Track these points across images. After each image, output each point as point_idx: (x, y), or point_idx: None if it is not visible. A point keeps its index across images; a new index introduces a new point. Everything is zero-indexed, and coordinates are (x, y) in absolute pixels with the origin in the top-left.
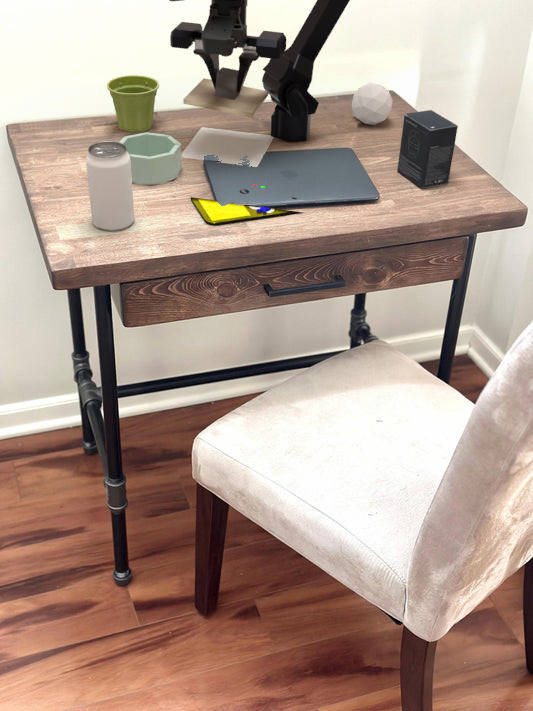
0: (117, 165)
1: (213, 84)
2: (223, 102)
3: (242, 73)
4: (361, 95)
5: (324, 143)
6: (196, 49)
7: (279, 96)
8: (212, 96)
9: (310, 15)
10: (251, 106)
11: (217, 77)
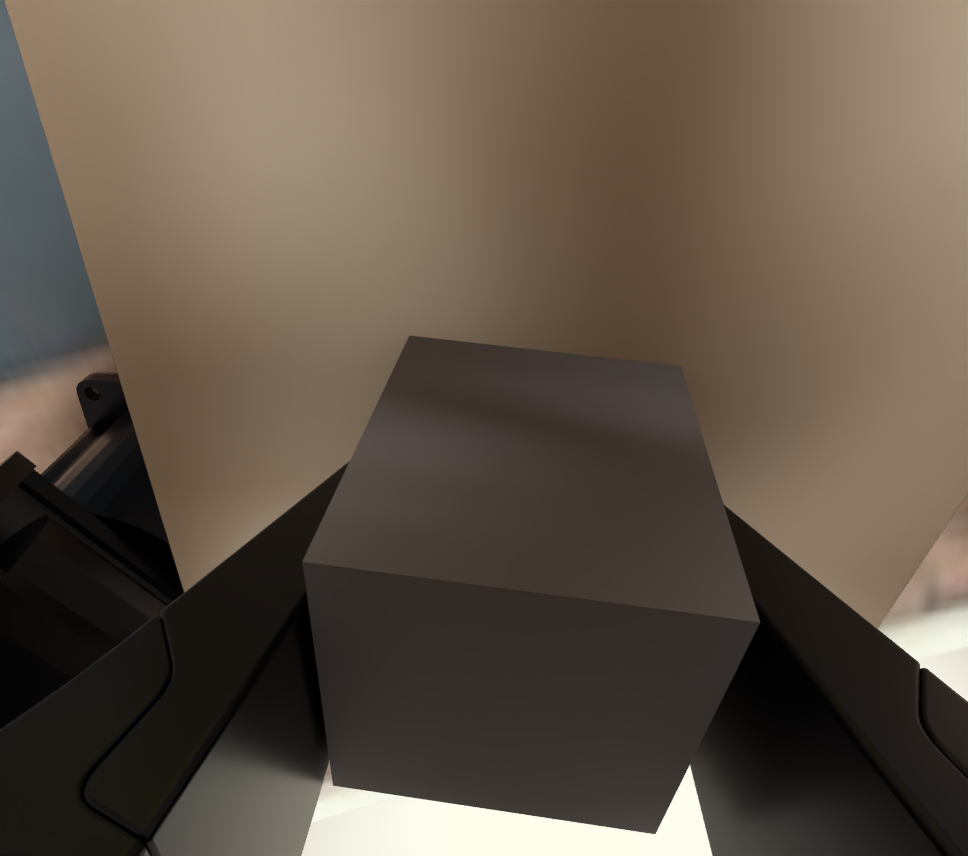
0: None
1: (736, 517)
2: (530, 176)
3: (169, 652)
4: None
5: (28, 455)
6: None
7: (14, 558)
8: (711, 344)
9: None
10: (134, 207)
11: (715, 549)
